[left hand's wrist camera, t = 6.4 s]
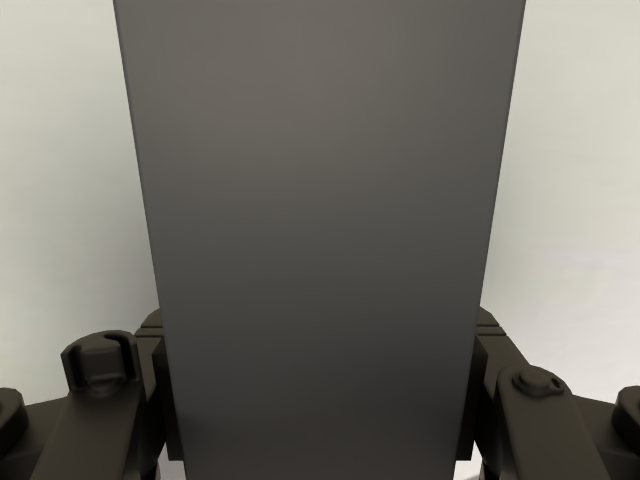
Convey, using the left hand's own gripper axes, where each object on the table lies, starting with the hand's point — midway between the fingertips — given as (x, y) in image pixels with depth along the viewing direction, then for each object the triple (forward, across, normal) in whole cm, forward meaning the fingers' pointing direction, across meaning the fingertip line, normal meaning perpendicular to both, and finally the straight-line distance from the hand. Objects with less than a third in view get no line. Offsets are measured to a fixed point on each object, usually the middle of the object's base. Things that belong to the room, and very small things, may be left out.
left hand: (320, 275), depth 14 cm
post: (+1, 0, -21) cm, 21 cm away
